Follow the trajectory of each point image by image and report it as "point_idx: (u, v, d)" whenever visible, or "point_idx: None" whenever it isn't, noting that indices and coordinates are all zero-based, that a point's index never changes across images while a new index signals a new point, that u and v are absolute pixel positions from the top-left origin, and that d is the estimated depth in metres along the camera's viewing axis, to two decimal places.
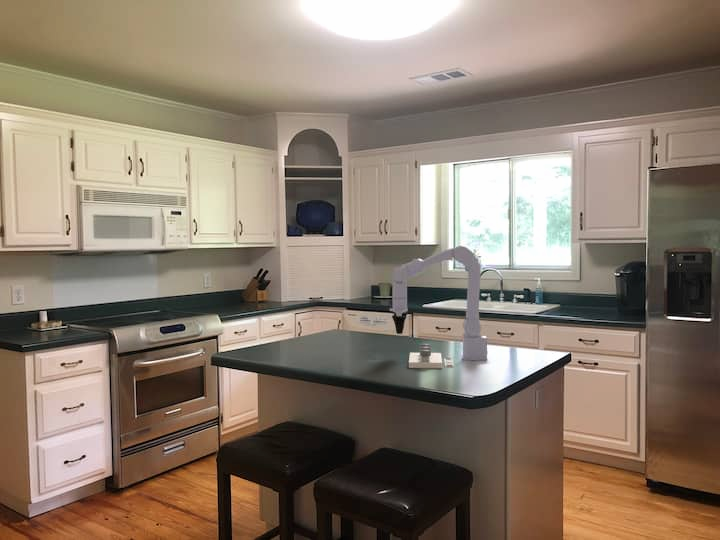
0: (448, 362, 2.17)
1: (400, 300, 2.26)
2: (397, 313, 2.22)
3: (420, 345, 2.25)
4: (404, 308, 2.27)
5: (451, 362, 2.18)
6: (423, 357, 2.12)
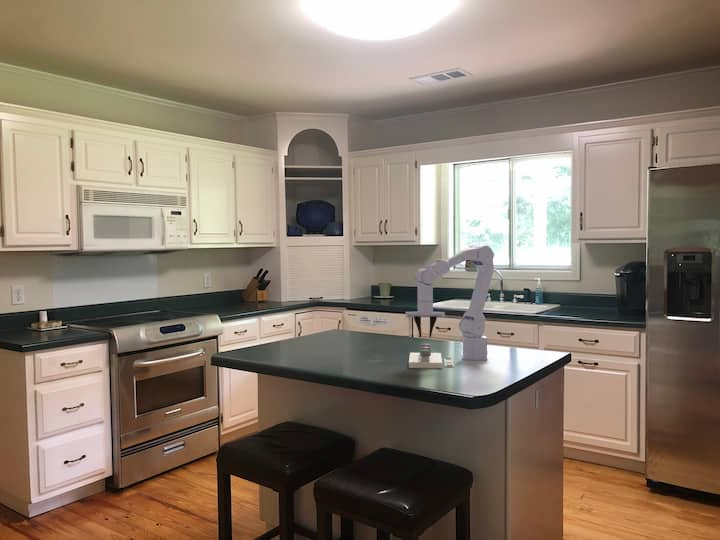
0: (448, 362, 2.17)
1: None
2: None
3: (420, 345, 2.25)
4: (419, 311, 2.17)
5: (451, 362, 2.18)
6: (423, 357, 2.12)
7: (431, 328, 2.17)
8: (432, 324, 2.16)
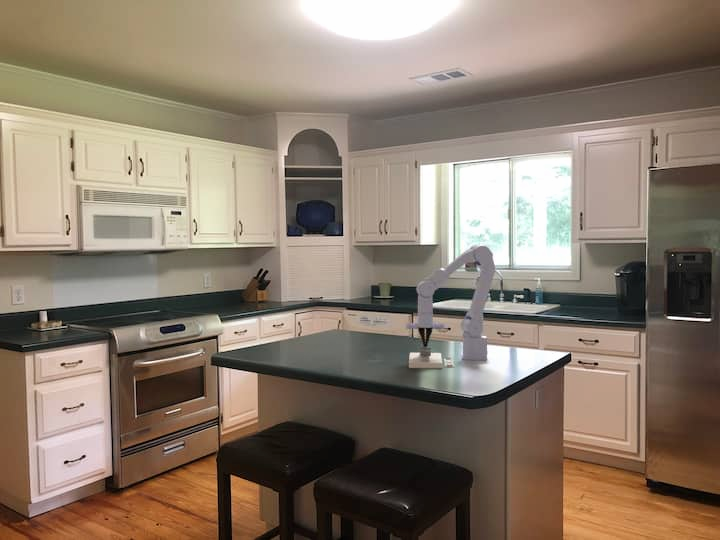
0: (448, 362, 2.17)
1: (418, 314, 2.24)
2: None
3: None
4: (419, 323, 2.23)
5: (451, 362, 2.18)
6: (423, 357, 2.12)
7: (427, 339, 2.23)
8: (428, 335, 2.23)
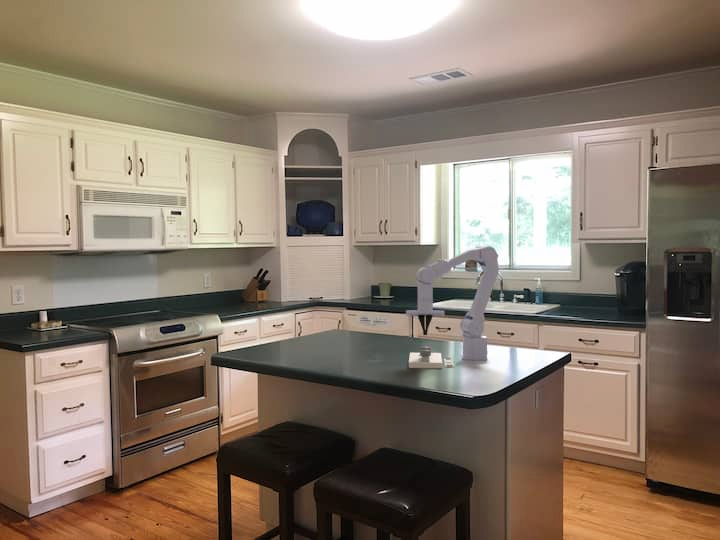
0: (448, 362, 2.17)
1: None
2: None
3: None
4: (419, 310, 2.21)
5: (451, 362, 2.18)
6: (423, 357, 2.12)
7: (427, 326, 2.21)
8: (428, 322, 2.21)
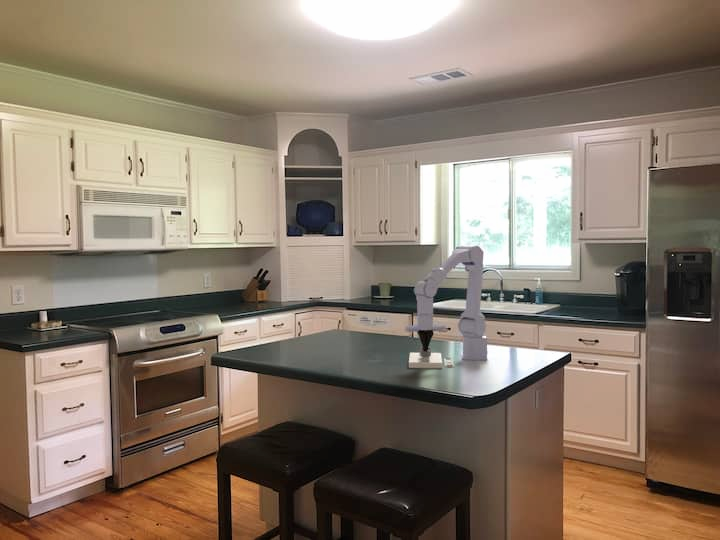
0: (448, 362, 2.17)
1: (417, 316, 2.12)
2: (405, 328, 2.13)
3: None
4: (420, 325, 2.11)
5: (451, 362, 2.18)
6: (423, 357, 2.12)
7: (428, 342, 2.12)
8: (429, 338, 2.11)
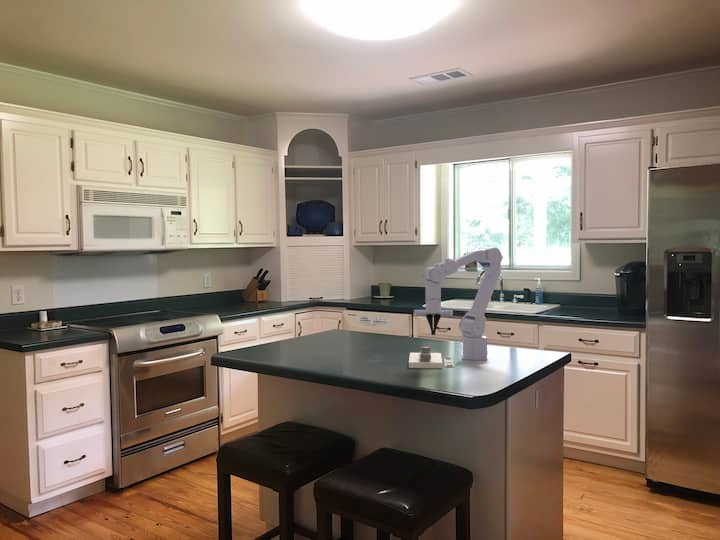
0: (448, 362, 2.17)
1: None
2: None
3: None
4: (427, 309, 2.18)
5: (451, 362, 2.18)
6: (423, 361, 2.12)
7: (435, 326, 2.19)
8: (436, 322, 2.18)
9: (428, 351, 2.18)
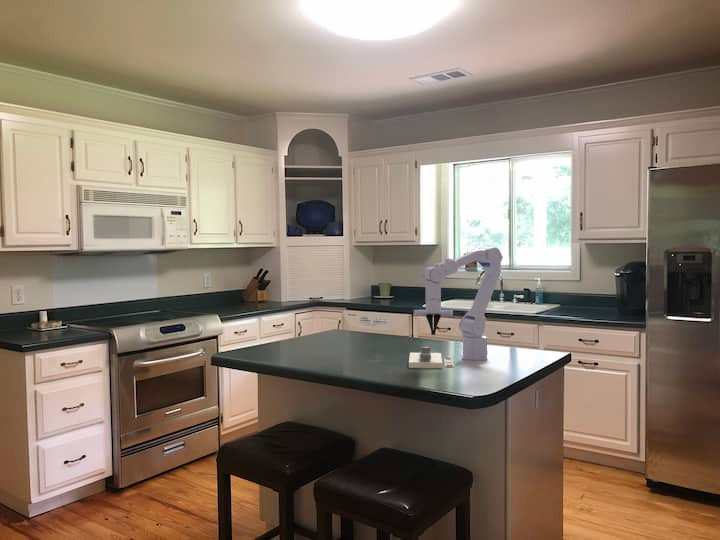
0: (448, 362, 2.17)
1: None
2: None
3: None
4: (427, 309, 2.18)
5: (451, 362, 2.18)
6: (423, 361, 2.12)
7: (435, 326, 2.19)
8: (436, 322, 2.18)
9: (428, 351, 2.18)
